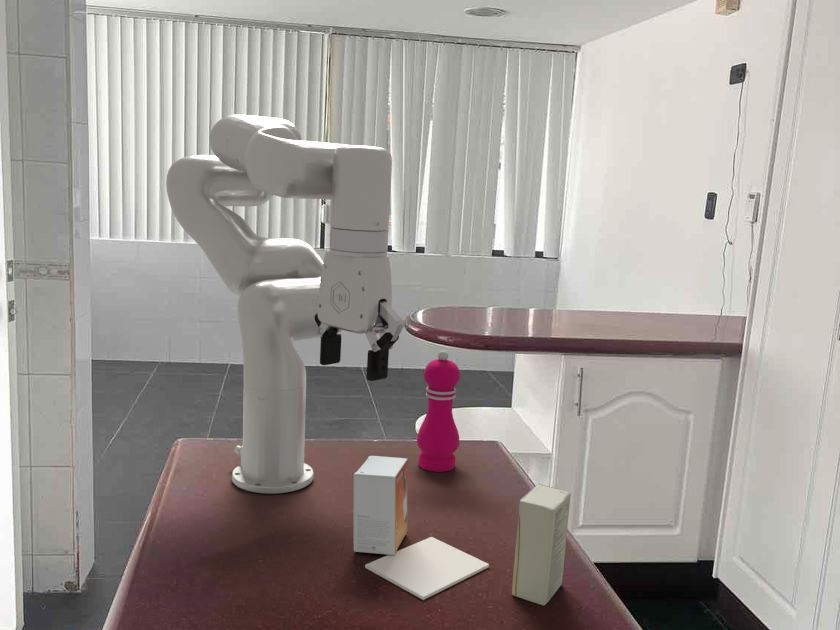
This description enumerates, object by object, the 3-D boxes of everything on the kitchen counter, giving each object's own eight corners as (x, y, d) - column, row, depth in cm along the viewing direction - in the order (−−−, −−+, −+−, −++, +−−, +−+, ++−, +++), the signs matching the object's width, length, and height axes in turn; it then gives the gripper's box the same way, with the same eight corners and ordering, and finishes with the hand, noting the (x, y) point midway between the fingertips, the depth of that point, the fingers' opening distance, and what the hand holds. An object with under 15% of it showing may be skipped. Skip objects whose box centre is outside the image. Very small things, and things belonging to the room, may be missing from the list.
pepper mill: (410, 459, 136) (416, 346, 133) (449, 456, 139) (456, 345, 135) (422, 474, 130) (429, 355, 126) (464, 471, 132) (471, 354, 128)
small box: (394, 557, 100) (395, 477, 99) (352, 552, 101) (352, 473, 100) (408, 531, 108) (409, 457, 107) (368, 528, 109) (369, 454, 108)
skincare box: (529, 574, 98) (537, 482, 96) (563, 585, 96) (572, 490, 94) (510, 596, 93) (517, 499, 91) (545, 608, 91) (554, 508, 89)
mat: (365, 567, 98) (365, 564, 98) (431, 539, 107) (431, 536, 107) (423, 600, 91) (423, 596, 91) (488, 567, 100) (489, 564, 100)
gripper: (294, 236, 106) (290, 361, 109) (383, 251, 94) (376, 391, 97) (337, 235, 111) (332, 354, 114) (427, 249, 99) (418, 381, 102)
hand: (352, 371), depth 106 cm, fingers open, 9 cm apart
